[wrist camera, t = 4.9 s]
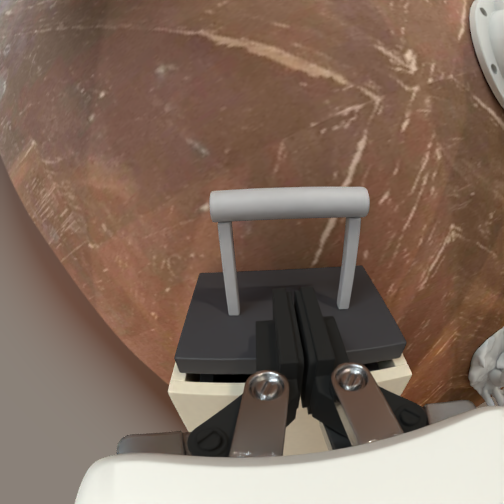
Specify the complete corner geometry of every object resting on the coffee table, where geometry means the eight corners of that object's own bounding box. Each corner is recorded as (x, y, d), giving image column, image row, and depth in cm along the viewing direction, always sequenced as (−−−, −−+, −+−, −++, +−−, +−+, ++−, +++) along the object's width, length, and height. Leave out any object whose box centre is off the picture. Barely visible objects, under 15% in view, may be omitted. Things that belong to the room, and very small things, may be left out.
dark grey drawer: (185, 175, 16) (134, 223, 9) (372, 170, 16) (444, 213, 9) (222, 387, 25) (216, 456, 18) (337, 380, 25) (352, 447, 18)
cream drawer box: (197, 285, 21) (167, 392, 12) (362, 277, 20) (412, 374, 12) (221, 394, 27) (214, 473, 19) (336, 388, 27) (352, 464, 18)
